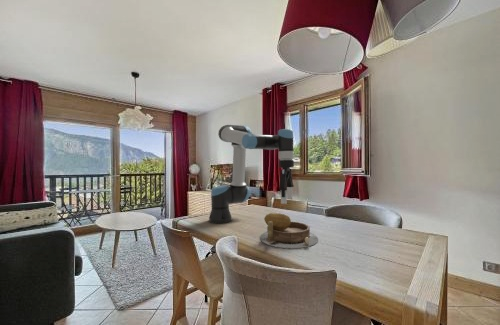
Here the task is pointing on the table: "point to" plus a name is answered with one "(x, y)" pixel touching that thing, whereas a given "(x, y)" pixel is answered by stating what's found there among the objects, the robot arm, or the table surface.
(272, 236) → the brown round shallow piece
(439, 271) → the table surface
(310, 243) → the base
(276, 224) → the potato
